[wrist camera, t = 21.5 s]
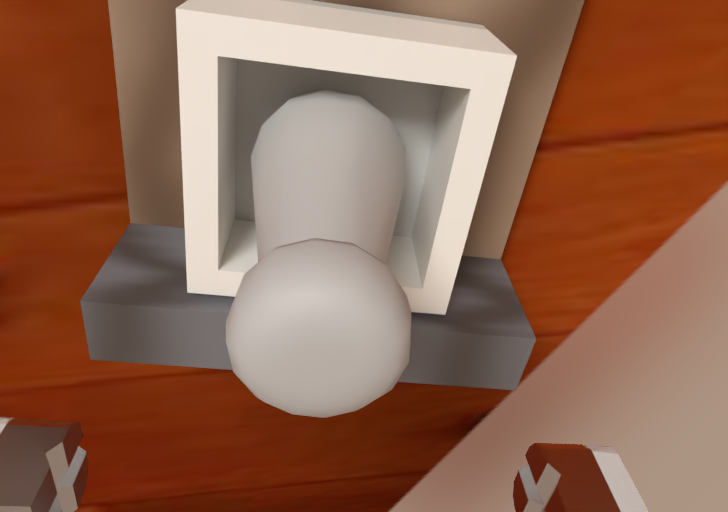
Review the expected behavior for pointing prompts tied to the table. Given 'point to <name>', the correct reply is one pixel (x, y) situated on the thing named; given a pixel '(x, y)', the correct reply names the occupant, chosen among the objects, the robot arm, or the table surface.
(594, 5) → the table surface
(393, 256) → the frame
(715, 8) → the table surface
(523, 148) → the board
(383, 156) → the salt shaker
